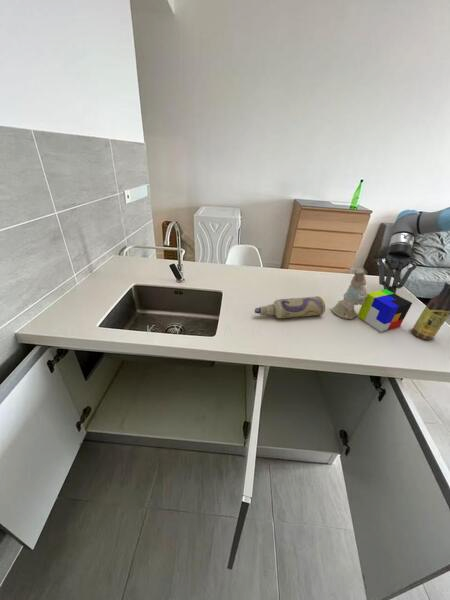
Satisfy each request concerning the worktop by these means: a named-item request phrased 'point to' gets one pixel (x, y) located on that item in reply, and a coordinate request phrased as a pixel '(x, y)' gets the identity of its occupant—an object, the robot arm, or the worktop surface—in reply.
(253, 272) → the worktop surface
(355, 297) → the figurine
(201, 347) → the worktop surface
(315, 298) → the decorative bottle
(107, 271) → the worktop surface
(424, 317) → the sauce bottle
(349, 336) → the worktop surface
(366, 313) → the puzzle toy
